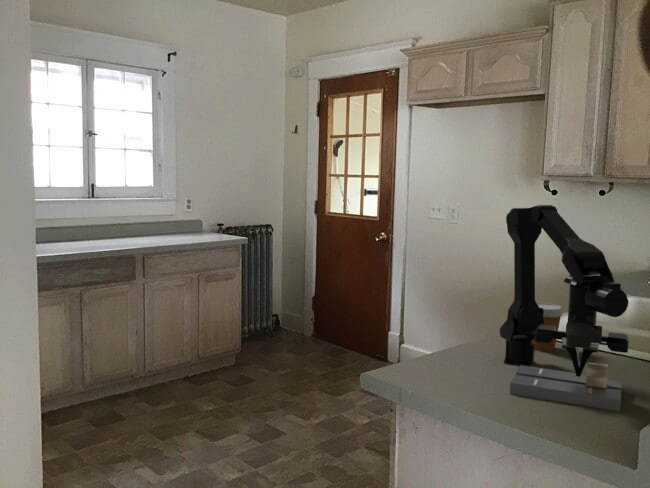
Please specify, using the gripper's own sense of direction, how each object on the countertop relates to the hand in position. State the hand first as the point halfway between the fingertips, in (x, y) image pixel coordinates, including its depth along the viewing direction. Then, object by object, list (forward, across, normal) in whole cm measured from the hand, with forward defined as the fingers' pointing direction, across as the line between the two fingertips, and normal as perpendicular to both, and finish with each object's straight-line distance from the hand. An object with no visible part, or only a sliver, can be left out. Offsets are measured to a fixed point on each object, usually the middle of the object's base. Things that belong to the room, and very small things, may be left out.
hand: (578, 376), depth 135 cm
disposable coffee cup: (+4, -11, +34) cm, 36 cm away
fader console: (+4, -2, 0) cm, 5 cm away
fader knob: (+3, +4, 0) cm, 5 cm away
